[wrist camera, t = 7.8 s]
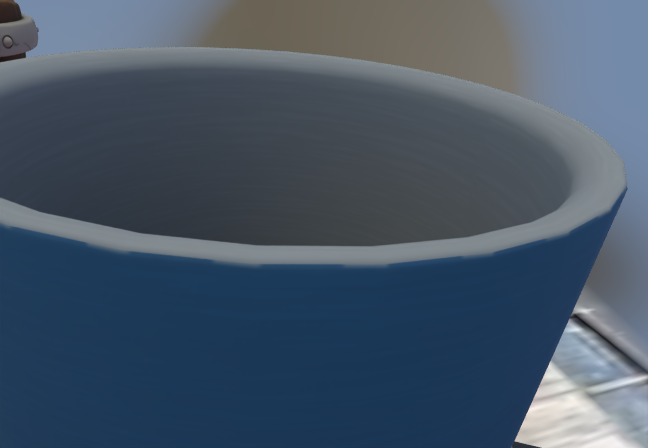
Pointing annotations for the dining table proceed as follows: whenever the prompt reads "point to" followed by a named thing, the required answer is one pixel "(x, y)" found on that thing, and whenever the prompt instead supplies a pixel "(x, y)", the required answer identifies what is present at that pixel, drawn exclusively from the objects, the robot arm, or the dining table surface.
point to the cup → (283, 250)
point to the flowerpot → (15, 32)
